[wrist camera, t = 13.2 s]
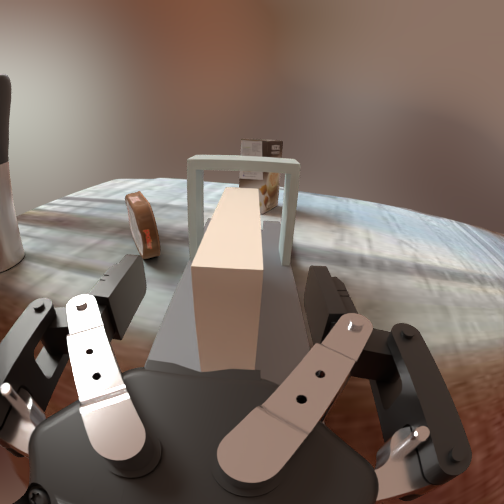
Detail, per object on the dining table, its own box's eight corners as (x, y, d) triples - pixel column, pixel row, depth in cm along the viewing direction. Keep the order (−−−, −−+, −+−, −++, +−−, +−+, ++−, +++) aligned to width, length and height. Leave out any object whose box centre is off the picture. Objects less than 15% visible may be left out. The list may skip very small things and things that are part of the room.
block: (203, 390, 17) (190, 266, 13) (224, 270, 32) (225, 187, 28) (252, 393, 17) (263, 269, 13) (253, 272, 32) (258, 188, 28)
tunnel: (190, 260, 34) (187, 159, 28) (197, 244, 38) (196, 154, 33) (289, 265, 34) (300, 164, 29) (285, 248, 39) (294, 159, 33)
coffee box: (263, 215, 58) (268, 140, 51) (237, 210, 61) (240, 138, 54) (278, 205, 66) (283, 140, 59) (255, 201, 68) (258, 138, 61)
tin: (164, 265, 37) (159, 207, 33) (142, 270, 35) (135, 211, 31) (143, 230, 48) (140, 186, 44) (127, 233, 46) (123, 189, 43)
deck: (134, 431, 15) (126, 418, 14) (208, 228, 50) (208, 218, 49) (318, 444, 15) (326, 433, 14) (279, 231, 50) (280, 221, 49)
